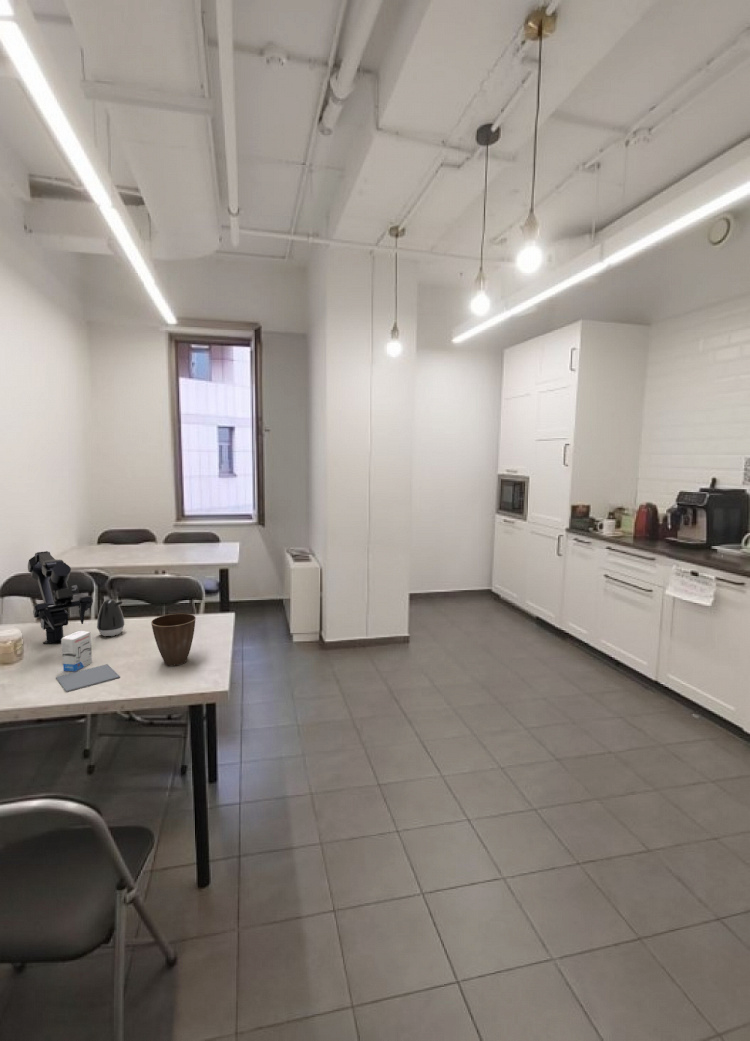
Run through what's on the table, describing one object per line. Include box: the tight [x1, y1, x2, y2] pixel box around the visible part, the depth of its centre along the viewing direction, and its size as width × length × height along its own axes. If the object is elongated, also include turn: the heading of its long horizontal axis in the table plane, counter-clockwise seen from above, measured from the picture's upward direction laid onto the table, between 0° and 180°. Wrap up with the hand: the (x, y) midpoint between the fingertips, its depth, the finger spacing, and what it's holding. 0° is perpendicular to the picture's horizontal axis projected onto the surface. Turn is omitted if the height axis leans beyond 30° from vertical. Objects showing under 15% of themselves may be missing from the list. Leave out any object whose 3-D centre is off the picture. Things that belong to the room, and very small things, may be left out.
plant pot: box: [151, 613, 197, 667], centre depth 186 cm, size 15×15×16 cm
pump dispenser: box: [96, 598, 125, 637], centre depth 214 cm, size 10×10×15 cm
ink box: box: [60, 630, 93, 672], centre depth 182 cm, size 9×5×12 cm, turn 168°
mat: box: [55, 663, 121, 693], centre depth 173 cm, size 14×16×1 cm
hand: (68, 626), depth 188 cm, fingers open, 9 cm apart
